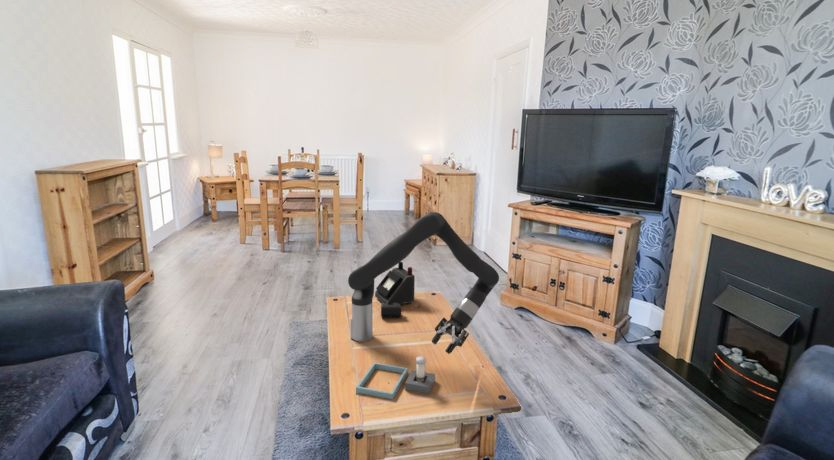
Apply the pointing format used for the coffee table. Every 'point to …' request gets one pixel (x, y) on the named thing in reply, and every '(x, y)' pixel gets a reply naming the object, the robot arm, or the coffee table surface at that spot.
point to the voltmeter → (397, 286)
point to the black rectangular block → (390, 310)
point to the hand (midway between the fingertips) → (440, 347)
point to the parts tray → (377, 392)
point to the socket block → (420, 383)
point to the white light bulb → (420, 369)
